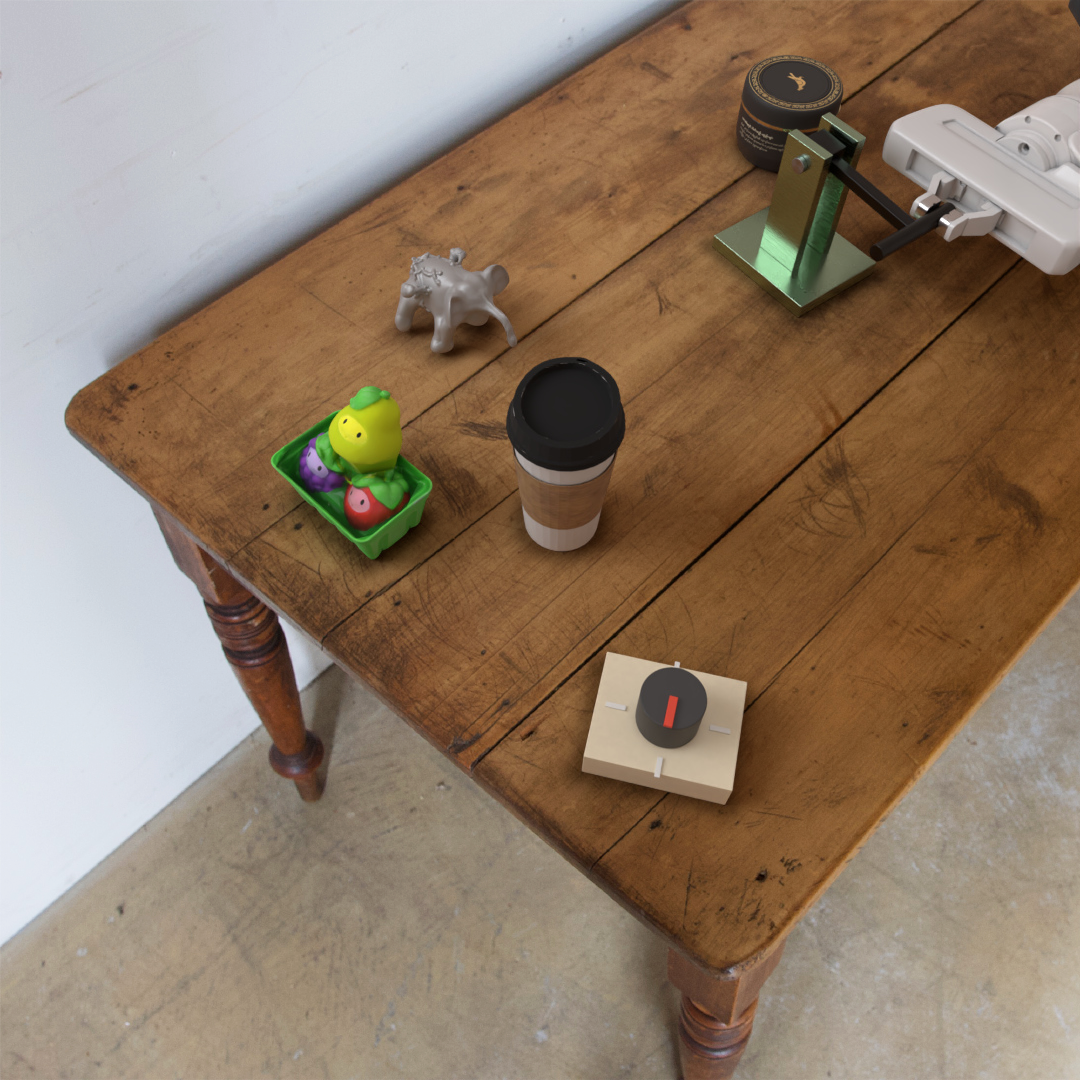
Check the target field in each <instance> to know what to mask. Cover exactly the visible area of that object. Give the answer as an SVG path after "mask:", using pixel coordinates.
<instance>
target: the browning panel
mask: <svg viewBox="0 0 1080 1080" xmlns="http://www.w3.org/2000/svg"><path fill="white" fill-rule="evenodd" d="M680 666H681V662H680V661H674V665H671V664H666V663H661V662H657V661H653V660H647V659H644V658H639V657H635V656H629V655H625V654H620V653H615V652H611V651H606V655H605V660H604V663H603V667H602V673H601V677H600V680H599V681H600V682H599V686H598V691H597V695H596V699H595V704H594V708H593V713H592V717H591V720H590V721H591V722H590V726H589V731H588V735H587V739H586V744H585V748H584V753H583V756H582V757H583V759H582V765H581V772H584V773H587V774H591V775H596V776H600V777H603V778H608V779H612V780H616V781H621V782H625V783H630V784H633V785H637V786H638V785H639V786H643V787H647V788H651V789H655V790H659V791H662V792H663V791H664V792H668V793H673V794H677V795H681V796H685V797H690V798H692V799H693V798H694V799H696V800H697V799H698V800H702V801H706V802H710V803H715V804H719V805H726V803H727V802H728V799H729V798H730V796H731V794H732V793H733V790H734V783H735V774H736V768H737V760H738V752H739V747H740V738H741V734H742V733H741V732H742V725H743V717H744V712H745V711H744V710H745V703H746V695H747V689H748V682H747V681H743V680H739V679H735V678H730V677H726V676H721V675H716V674H712V673H707V672H703V671H698V670H693V669H689V668H684V667H680ZM667 667H676V668H681V669H684V670H686V671H688V672H690V673H692V674H693V675H694V676H696V677H697V678H698V679H699V680H700V682H701V683H702V685H703V686H704V688H705V691H706V694H707V708H706V711H705V714H704V716H703V719H702V721H701V724H700V727H699V729H698V732H697V734H696V735H695V737H694V738H693V739H692V740H691V741H690V742H689V743H687V744H686V745H684V746H681V747H678V748H662V747H659V746H656V745H654V744H652V743H650V742H649V741H648V740H646V739H645V738H644V737H643V735H642V734H641V733H640V731H639V729H638V727H637V724H636V719H635V713H636V708H637V703H638V699H639V695H640V690H641V687H642V685H643V682H644V681H645V679H646V678H647V677H648V676H649V675H650V674H651V673H653V672H655V671H657V670H659V669H662V668H667Z"/></svg>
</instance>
